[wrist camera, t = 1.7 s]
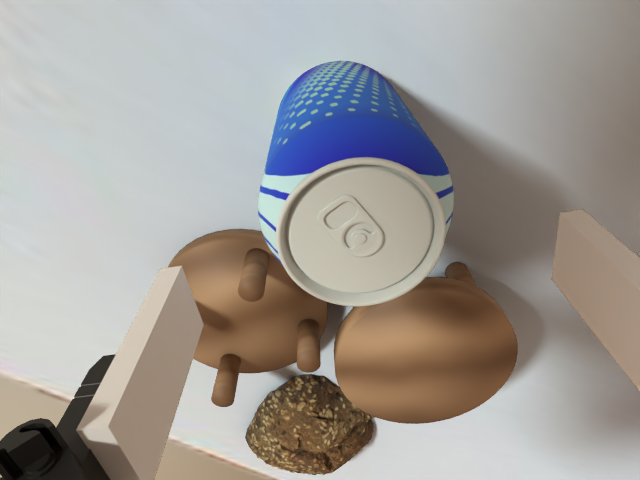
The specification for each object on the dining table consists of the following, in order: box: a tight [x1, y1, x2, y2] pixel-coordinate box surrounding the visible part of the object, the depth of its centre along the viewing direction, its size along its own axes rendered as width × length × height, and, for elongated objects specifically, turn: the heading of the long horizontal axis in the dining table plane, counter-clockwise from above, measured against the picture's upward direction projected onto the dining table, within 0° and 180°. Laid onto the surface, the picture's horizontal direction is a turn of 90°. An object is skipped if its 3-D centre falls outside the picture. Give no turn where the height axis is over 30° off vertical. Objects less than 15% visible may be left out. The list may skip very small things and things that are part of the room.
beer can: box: [258, 61, 454, 306], centre depth 24 cm, size 8×8×16 cm
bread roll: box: [245, 375, 374, 475], centre depth 45 cm, size 13×12×5 cm
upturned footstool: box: [168, 229, 327, 407], centre depth 36 cm, size 14×14×6 cm
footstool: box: [334, 262, 517, 424], centre depth 37 cm, size 14×14×6 cm
